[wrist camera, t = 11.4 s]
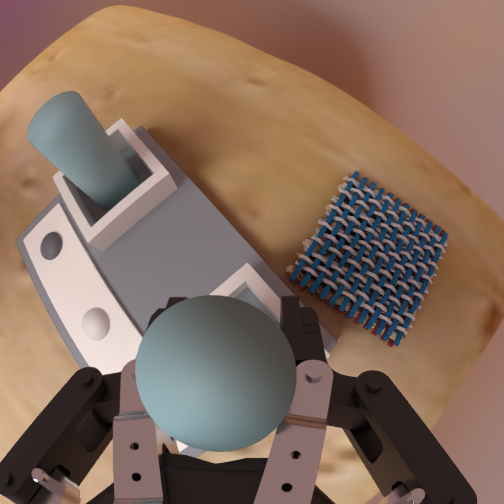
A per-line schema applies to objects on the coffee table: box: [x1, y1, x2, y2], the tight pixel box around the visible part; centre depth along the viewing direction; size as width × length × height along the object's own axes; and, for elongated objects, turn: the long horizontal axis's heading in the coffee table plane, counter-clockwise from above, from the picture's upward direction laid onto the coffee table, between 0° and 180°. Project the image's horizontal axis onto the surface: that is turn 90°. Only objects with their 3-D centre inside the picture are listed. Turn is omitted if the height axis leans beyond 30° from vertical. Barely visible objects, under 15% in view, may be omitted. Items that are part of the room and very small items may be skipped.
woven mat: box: [286, 171, 448, 347], centre depth 22 cm, size 10×11×2 cm
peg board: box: [16, 91, 337, 458], centre depth 17 cm, size 16×24×11 cm, turn 41°
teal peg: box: [135, 295, 297, 452], centre depth 12 cm, size 4×4×10 cm
